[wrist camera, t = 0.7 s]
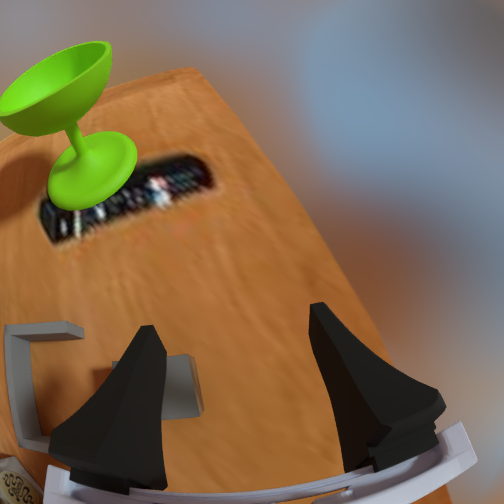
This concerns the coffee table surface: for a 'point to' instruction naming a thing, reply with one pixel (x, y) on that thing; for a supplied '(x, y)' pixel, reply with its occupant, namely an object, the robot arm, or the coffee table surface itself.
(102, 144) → the wineglass
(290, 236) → the coffee table surface
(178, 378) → the brown block
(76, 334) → the bay
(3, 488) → the coffee box
